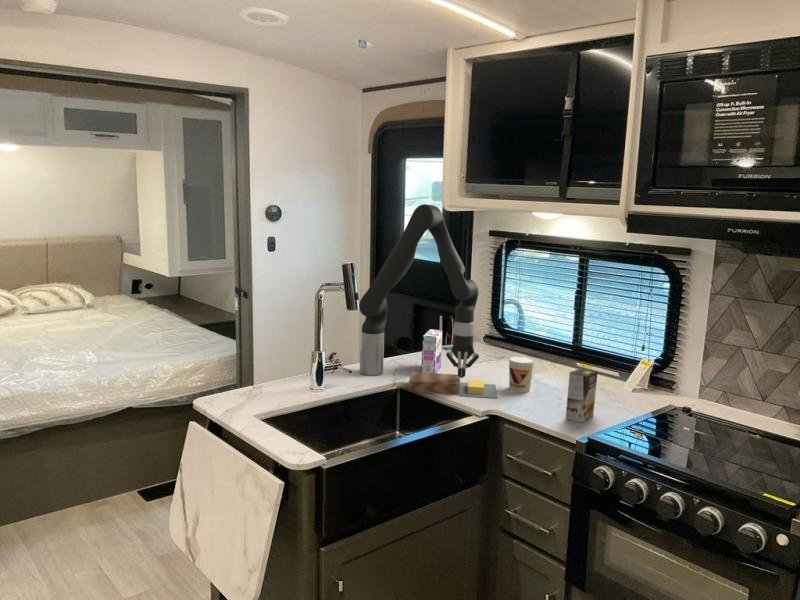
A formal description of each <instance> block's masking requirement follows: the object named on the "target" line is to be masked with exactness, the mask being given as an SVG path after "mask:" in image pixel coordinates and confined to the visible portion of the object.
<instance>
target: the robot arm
mask: <svg viewBox="0 0 800 600" xmlns="http://www.w3.org/2000/svg"><path fill="white" fill-rule="evenodd" d="M426 231H428V232H429V233H430V234H431V236H432V238H433V240H434V241H435V243H436V244H435V245H436V247H437V253H438V256H439V260H440V263H441V265H442V267H443V268H444V271H445V273H446V275H447V277H448V281H449V285H450V286H449V287H450V289H451V292H452V295H454V297H455V298H456V299H458V301H459V304H458V305H457V306H456V307H455V311H454V313H455V314H454V325H453V338H452V339H453V340H452V347H451V350H449V351H447V352H446V354H445V356H446V358H447V359H448V360H449V362H450V363H451V364H452V366H453V367H454V368H455V367H456V368H457V375H458V376H459V378H460V379H464V377H465V376H466V369H467V368H471V367H472V366H473V365H474V364H475V362H476V361H478V359H479V358H480V355H479V353H476V352H475V348H474V334H475V326H474V320H475V319H474V318H475V309H476V305H477V301H478V298H479V287H478V284H477V282H476V281H475V280H472V279H465V277H464V273H465V272H466V268H465V265H464V263H463V261H462V259H461V257H460V255H459V254H458V252H457V249H456V247H455V246H454V243H453V241H452V239H451V236H450V234H449V230H448V229H447V225H446V222H445V218H444V216H443V213H442V211H441V209H440V208H439V207H438V206H436V205H432V204H426V203H425V204H423V203H422V204H420V205H418V206H417V207H416V208H415V209H414V210H413V213H412V214H411V215H410V218H409V220H408V222H407V225H406V227H405V229H404V230H403V233H402V234H401V236H400V238H399V239H398V241H397V242H396V244H395V246H394V247H393V249H392V250H391V251H390V253H389V255H388V256H387V258H386V259H385V262H384V264H383V265H382V267H381V268H380V270H379V272H378V274H377V276H376V278H375V279H374V281H373V282H372V284H371V285H370V287H369V288H368V289H367V290H366V292H365V293H364V294H363V295H362V297H361V298H360V299H359V303H358V304H359V306H358V308H359V312H360V314H362V316H364V317H365V319H364V322H362V325H361V347H360V348H361V349H360V351H359V353H360V354H359V374H360V375H366V376H380V375H383V374H384V362H385V361H384V360H385V359H384V356H385V355H384V354H385V328H386V324H387V318H388V317H387V316H388V301H387V298H386V297H387V296H388V293H389V292H390V291H391V290H392V289H393V288H394V287H395V286H396V285H397V284H398V283H399V282H400V281H401V280H402V279H403V277H404V276H405V275H406V273H407V272H408V270H409V269H410V267H411V266H412V264H413V262H414V259H415V256H416V252H417V247H418V245H419V242H420V240H421V239H422V237H423V236H424V234H425V233H426ZM453 355H454V357H455V358H456V359H454V357H453ZM471 356H472V357H471ZM470 358H471V359H470ZM469 359H470V360H469ZM456 360H457V362H456ZM468 360H469V361H468ZM467 361H468V362H467Z"/></svg>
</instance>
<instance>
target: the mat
mask: <svg viewBox="0 0 800 600" xmlns="http://www.w3.org/2000/svg"><path fill="white" fill-rule="evenodd" d="M458 395H459V397H464V398H466V397H467V398H481V399H482V398H484V399H496V400H497V399H499V397H498V392H497V385H496V384H493V383H484V394H474V393H468V382H463V381H462V382H461V381H460V392H459V394H458Z"/></svg>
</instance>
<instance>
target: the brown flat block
mask: <svg viewBox="0 0 800 600" xmlns="http://www.w3.org/2000/svg"><path fill="white" fill-rule="evenodd" d="M460 382H461V378H459V376H458V374H456V373H455V374H451V373H438V372H437V373H421V372H419V371H418V372H417V371H411V373H410V376H409V380H408V392H411V393H412V392H413V393H415V392H416V393H428V394H429V393H430V394H445V395H446V394H448V395H449V394H450V395H459V392H460Z"/></svg>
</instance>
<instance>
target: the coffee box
mask: <svg viewBox="0 0 800 600" xmlns="http://www.w3.org/2000/svg"><path fill="white" fill-rule="evenodd" d="M597 379H598V370H594V369H588V368H584V367H583V368H582V367H579V368H577V369H575V370H572V371H570V372H569V377H568V387H567V398H566V409H565V419H568V420H572V421H576V422H579V423H584V422H586V421H587V420H589V419H590V418H592V417H594V412H595V403H596V402H595V400H596V392H597V383H598V382H597Z"/></svg>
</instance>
